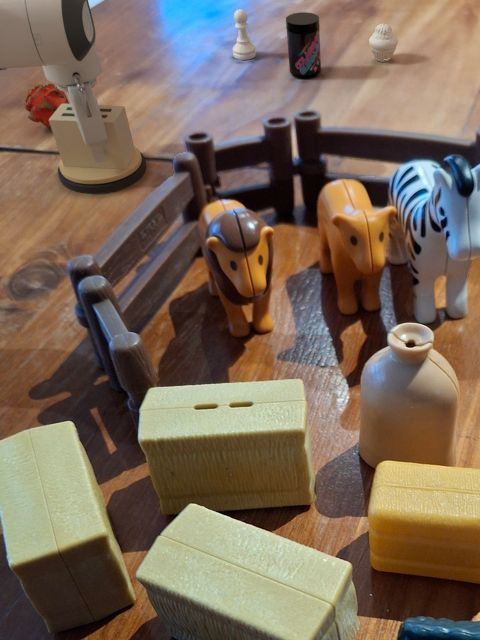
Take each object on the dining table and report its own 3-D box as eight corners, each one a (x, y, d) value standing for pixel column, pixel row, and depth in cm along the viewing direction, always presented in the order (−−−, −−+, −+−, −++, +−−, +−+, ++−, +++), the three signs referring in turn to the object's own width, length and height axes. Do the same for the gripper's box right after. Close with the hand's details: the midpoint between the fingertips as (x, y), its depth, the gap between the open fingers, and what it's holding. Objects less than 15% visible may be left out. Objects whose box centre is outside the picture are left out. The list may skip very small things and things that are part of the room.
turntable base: (66, 201, 121) (64, 194, 121) (54, 160, 130) (51, 153, 129) (155, 182, 125) (153, 176, 124) (136, 144, 134) (135, 137, 133)
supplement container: (288, 80, 151) (284, 25, 143) (290, 66, 155) (286, 12, 147) (321, 79, 151) (319, 24, 143) (321, 66, 155) (319, 11, 147)
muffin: (395, 65, 155) (397, 29, 150) (367, 64, 156) (367, 28, 150) (397, 53, 159) (399, 18, 154) (370, 52, 160) (370, 17, 154)
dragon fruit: (31, 134, 140) (95, 141, 142) (16, 124, 132) (84, 132, 133) (30, 86, 138) (95, 94, 140) (15, 73, 130) (84, 82, 131)
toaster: (151, 146, 130) (140, 95, 124) (128, 186, 122) (114, 133, 115) (76, 142, 132) (61, 92, 125) (48, 182, 123) (29, 130, 116)
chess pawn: (239, 49, 161) (234, 4, 154) (260, 52, 160) (255, 7, 153) (229, 58, 158) (223, 12, 151) (250, 61, 157) (245, 15, 150)
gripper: (103, 84, 108) (125, 172, 119) (80, 36, 121) (102, 120, 131) (60, 92, 107) (87, 180, 118) (41, 42, 119) (67, 126, 130)
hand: (95, 148), depth 124 cm, fingers open, 8 cm apart
